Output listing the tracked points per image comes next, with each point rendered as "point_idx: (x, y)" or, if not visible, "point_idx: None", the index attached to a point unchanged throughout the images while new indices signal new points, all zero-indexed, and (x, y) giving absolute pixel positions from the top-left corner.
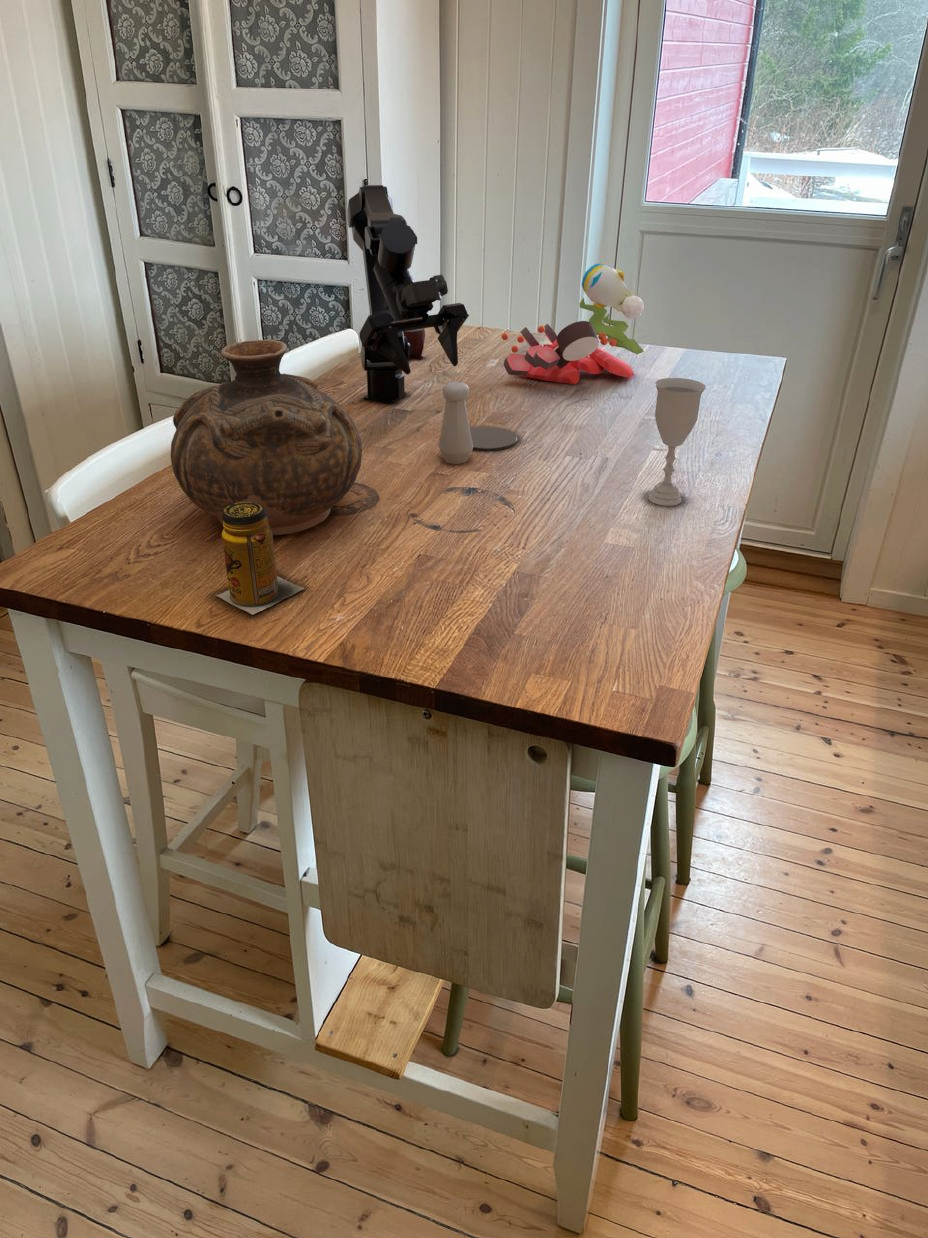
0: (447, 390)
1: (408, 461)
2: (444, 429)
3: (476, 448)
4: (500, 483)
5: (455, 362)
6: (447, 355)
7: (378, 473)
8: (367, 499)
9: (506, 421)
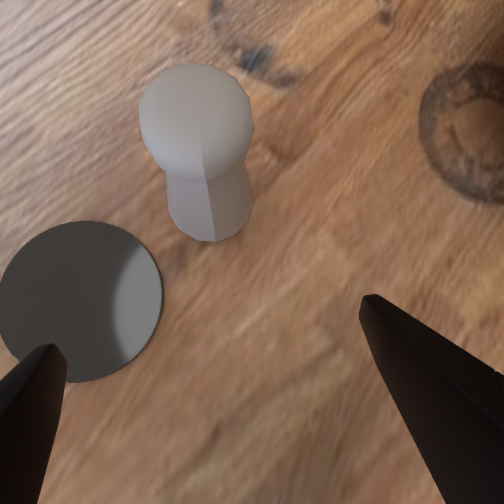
0: (247, 96)
1: (312, 242)
2: (246, 177)
3: (140, 242)
4: None
5: (52, 349)
6: (42, 472)
7: (391, 207)
8: (441, 105)
9: None
